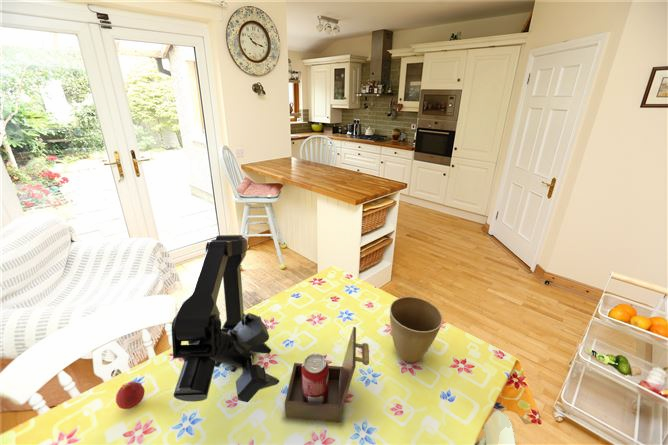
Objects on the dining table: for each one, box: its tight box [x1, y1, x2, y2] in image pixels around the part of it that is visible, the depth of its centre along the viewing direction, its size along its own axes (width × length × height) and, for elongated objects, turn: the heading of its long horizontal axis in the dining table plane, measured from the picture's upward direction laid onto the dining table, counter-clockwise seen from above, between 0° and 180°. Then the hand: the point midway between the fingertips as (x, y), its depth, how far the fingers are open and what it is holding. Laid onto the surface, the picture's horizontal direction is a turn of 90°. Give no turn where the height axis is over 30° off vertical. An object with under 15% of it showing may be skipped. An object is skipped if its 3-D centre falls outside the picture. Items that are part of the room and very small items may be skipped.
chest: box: [284, 362, 342, 423], centre depth 75 cm, size 14×12×5 cm
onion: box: [115, 381, 146, 410], centre depth 72 cm, size 6×6×8 cm
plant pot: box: [389, 296, 444, 364], centre depth 87 cm, size 15×15×16 cm
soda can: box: [302, 353, 330, 404], centre depth 74 cm, size 7×7×12 cm
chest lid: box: [340, 326, 370, 408], centre depth 71 cm, size 14×12×4 cm
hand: (274, 366), depth 69 cm, fingers open, 9 cm apart
